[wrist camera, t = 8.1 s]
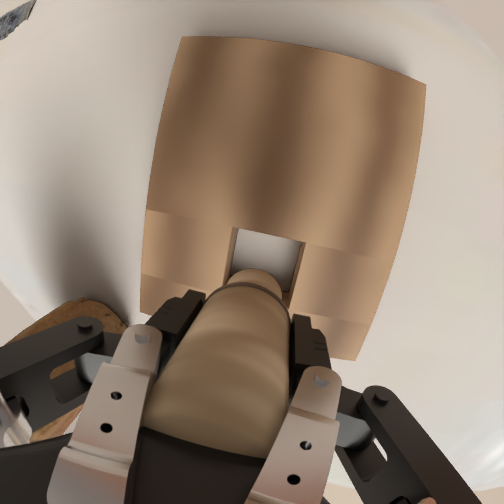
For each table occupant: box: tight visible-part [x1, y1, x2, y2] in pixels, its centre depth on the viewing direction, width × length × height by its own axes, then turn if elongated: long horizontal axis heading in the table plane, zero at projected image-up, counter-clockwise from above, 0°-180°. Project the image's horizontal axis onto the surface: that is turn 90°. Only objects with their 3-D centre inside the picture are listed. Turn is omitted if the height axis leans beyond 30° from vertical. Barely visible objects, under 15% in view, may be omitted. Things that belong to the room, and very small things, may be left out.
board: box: [140, 36, 426, 361], centre depth 19 cm, size 18×22×3 cm
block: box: [4, 298, 127, 443], centre depth 17 cm, size 11×8×20 cm
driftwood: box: [0, 0, 36, 40], centre depth 17 cm, size 21×7×2 cm, turn 72°
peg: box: [144, 269, 291, 459], centre depth 10 cm, size 4×4×10 cm
